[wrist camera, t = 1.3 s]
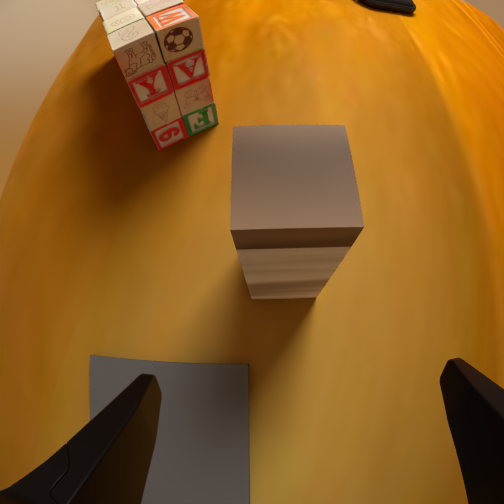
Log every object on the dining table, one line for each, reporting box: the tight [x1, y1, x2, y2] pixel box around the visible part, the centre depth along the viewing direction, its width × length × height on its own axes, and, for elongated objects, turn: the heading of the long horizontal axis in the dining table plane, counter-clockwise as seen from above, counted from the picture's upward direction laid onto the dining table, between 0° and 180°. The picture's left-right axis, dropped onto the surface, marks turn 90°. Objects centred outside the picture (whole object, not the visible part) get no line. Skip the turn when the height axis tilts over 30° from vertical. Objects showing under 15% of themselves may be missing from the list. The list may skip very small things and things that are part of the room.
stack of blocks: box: [96, 0, 218, 151], centre depth 26 cm, size 21×6×12 cm, turn 27°
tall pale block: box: [230, 125, 364, 300], centre depth 17 cm, size 5×5×12 cm
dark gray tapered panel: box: [90, 355, 250, 504], centre depth 18 cm, size 18×12×1 cm, turn 0°
